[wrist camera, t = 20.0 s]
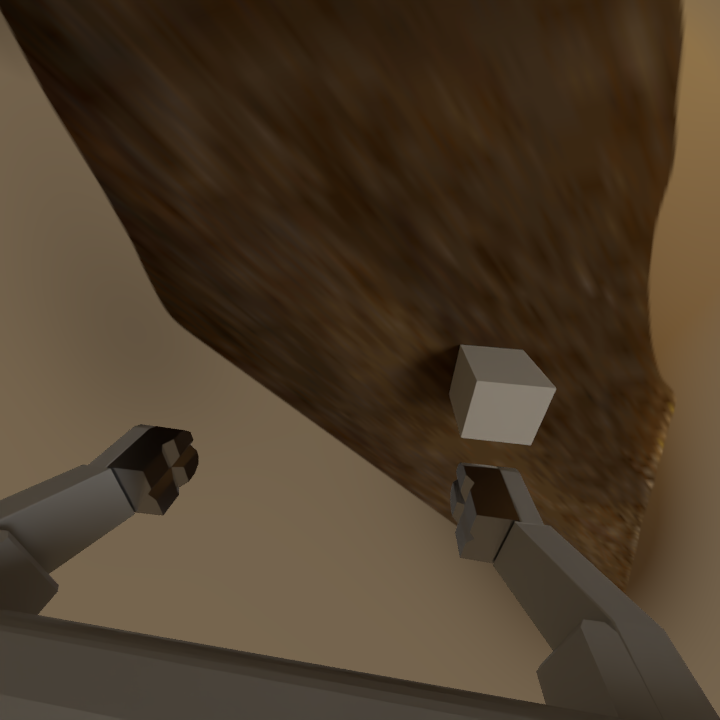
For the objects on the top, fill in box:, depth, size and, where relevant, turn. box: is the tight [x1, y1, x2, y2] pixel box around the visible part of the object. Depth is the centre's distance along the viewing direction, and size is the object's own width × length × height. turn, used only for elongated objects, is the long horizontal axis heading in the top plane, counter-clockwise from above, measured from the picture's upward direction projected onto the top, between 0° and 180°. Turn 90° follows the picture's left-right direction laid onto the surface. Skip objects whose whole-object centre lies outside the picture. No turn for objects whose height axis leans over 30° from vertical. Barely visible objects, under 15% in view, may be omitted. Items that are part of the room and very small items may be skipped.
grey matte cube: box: [449, 345, 556, 445], centre depth 31 cm, size 7×7×8 cm
